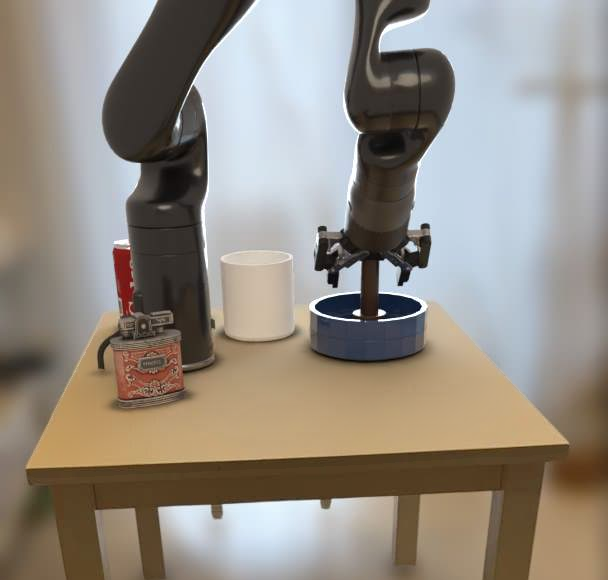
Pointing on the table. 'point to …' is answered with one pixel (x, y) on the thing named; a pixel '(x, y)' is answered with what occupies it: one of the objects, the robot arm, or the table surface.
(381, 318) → the brown peg with base
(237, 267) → the mug
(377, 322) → the bowl
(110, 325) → the table surface
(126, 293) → the soda can
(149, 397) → the lighter
